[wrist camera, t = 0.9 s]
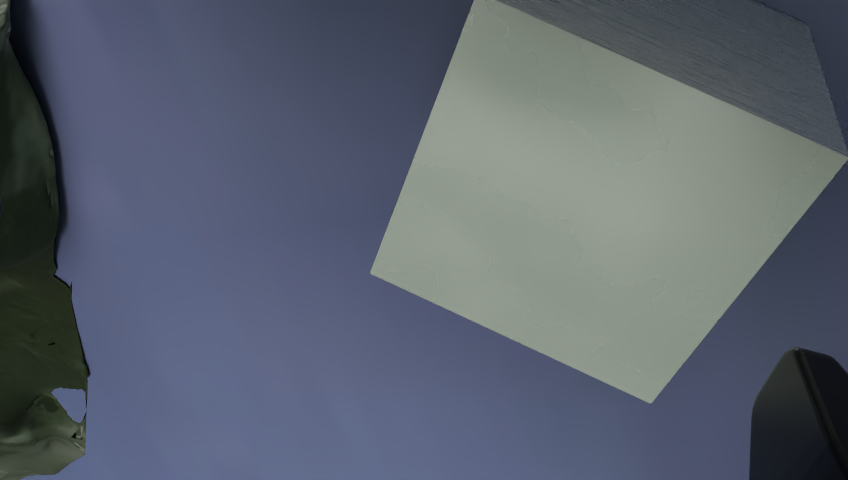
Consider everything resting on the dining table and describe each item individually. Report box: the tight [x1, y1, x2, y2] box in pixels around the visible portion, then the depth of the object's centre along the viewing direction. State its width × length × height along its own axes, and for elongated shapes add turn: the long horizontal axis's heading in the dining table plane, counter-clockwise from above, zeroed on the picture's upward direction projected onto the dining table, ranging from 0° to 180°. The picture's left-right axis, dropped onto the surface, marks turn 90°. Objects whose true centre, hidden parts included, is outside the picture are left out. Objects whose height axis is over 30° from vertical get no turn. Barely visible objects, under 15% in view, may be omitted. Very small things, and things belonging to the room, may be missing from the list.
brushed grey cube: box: [370, 0, 848, 404], centre depth 16 cm, size 6×6×6 cm
